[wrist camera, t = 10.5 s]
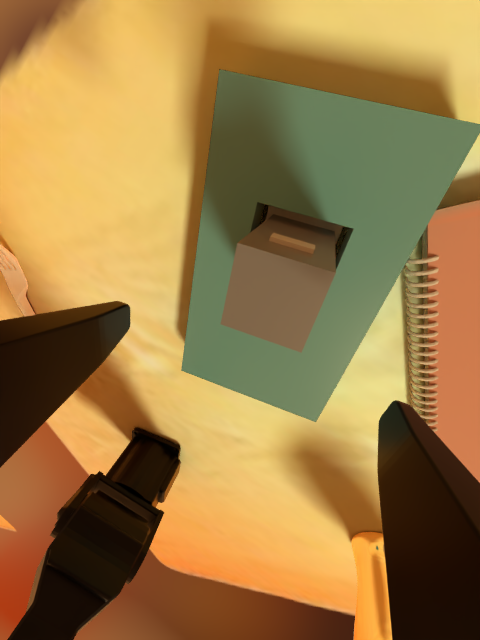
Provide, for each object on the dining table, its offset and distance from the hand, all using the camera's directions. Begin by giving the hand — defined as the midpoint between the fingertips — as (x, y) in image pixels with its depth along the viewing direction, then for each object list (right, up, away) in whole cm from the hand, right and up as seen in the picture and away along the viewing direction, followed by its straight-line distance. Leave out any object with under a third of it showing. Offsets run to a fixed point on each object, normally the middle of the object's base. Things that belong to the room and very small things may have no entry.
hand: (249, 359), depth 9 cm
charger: (+3, +6, +9) cm, 12 cm away
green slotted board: (+3, +4, +11) cm, 12 cm away
